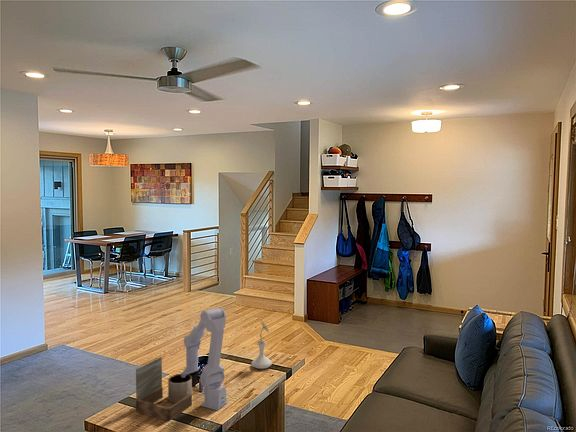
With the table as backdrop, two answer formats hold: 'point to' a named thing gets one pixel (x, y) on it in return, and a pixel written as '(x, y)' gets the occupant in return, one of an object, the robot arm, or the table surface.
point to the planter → (179, 387)
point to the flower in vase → (261, 354)
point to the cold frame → (155, 393)
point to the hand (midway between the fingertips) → (192, 386)
